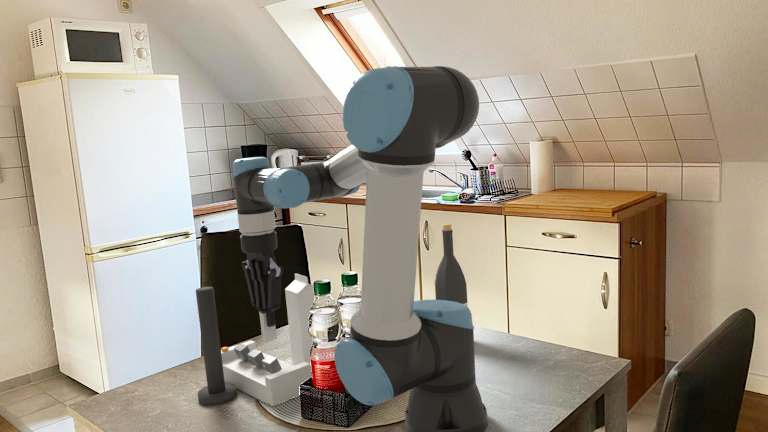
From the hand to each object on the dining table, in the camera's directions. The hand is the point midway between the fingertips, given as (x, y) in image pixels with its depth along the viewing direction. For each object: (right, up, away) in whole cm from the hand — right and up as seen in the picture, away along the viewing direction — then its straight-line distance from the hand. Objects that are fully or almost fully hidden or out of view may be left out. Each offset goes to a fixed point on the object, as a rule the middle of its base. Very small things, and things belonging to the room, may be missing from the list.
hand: (269, 339), depth 137 cm
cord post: (-11, -12, 0) cm, 17 cm away
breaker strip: (-3, -11, +6) cm, 12 cm away
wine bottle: (+42, -5, +22) cm, 47 cm away
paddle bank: (-3, -7, +5) cm, 9 cm away
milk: (+7, -9, +14) cm, 18 cm away
